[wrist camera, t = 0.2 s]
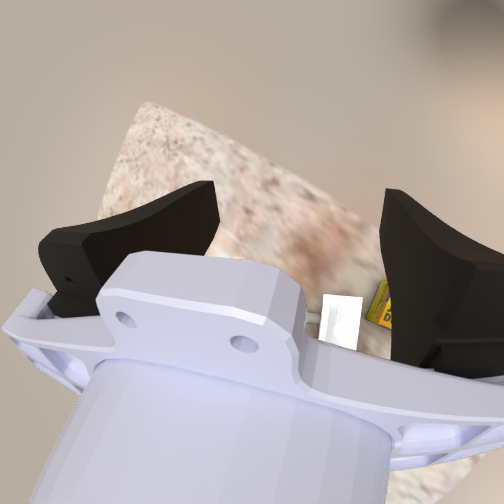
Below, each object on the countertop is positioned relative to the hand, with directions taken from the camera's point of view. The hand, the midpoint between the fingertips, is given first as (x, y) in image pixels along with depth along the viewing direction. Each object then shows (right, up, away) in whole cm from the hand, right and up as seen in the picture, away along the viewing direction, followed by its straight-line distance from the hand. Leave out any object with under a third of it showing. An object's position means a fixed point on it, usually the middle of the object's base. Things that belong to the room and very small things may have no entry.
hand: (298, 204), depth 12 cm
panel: (+10, -15, +27) cm, 33 cm away
